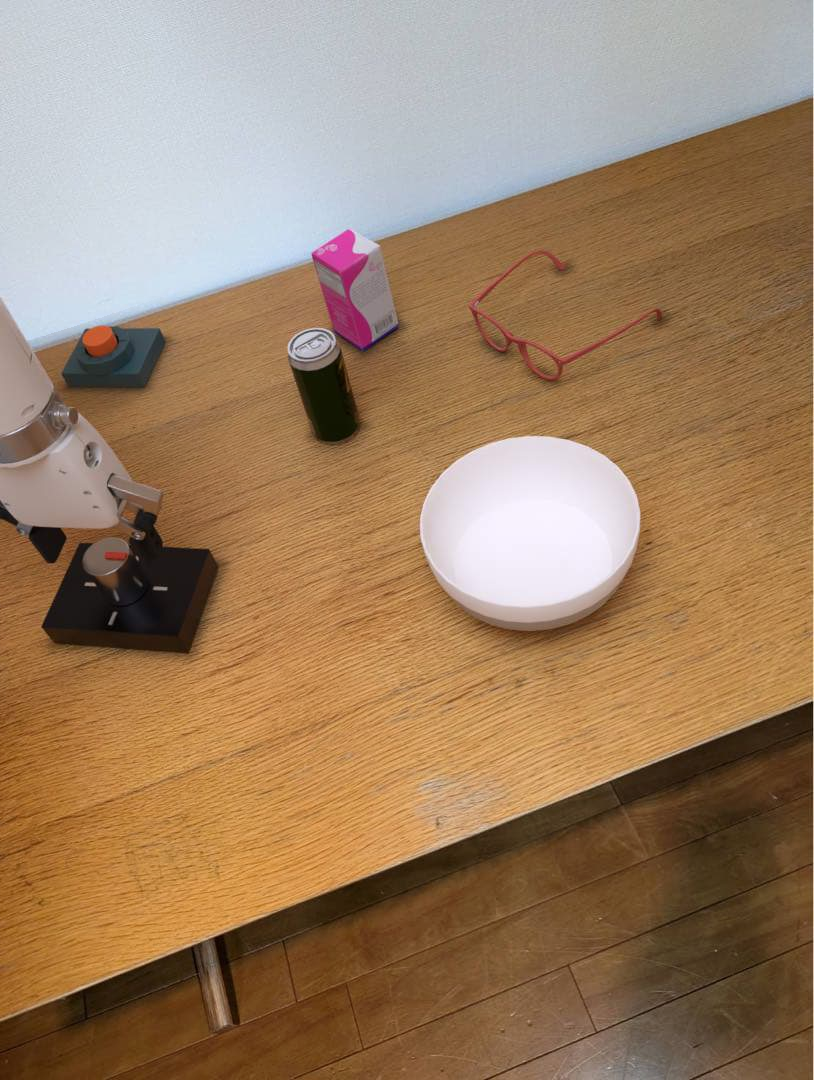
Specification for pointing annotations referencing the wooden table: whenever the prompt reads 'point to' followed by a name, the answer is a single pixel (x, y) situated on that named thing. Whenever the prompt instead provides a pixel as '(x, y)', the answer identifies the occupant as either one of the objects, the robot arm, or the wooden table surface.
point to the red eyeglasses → (523, 342)
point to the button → (99, 341)
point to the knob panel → (135, 605)
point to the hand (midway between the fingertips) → (105, 553)
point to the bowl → (530, 531)
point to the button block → (116, 360)
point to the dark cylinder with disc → (115, 571)
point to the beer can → (324, 385)
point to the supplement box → (356, 289)
